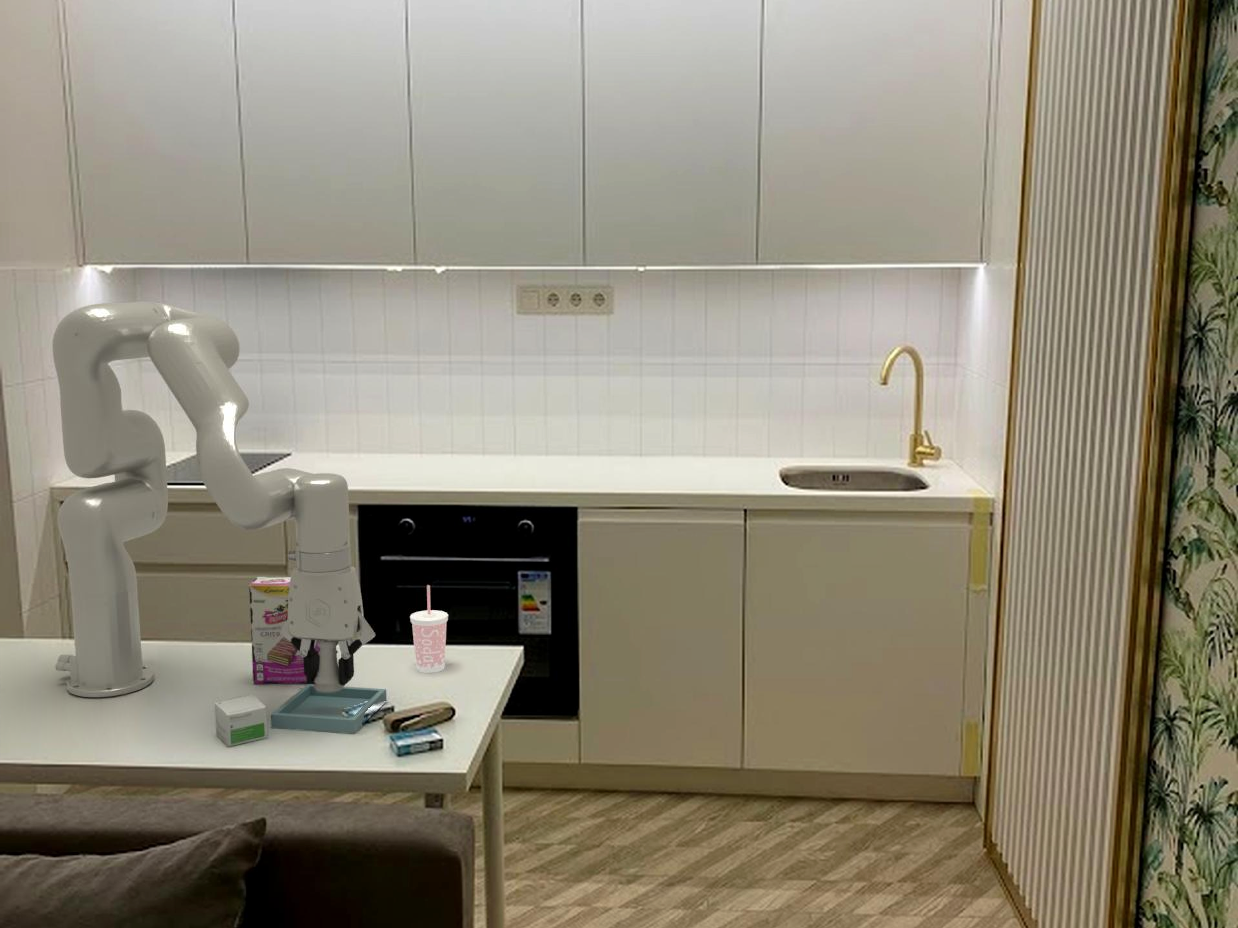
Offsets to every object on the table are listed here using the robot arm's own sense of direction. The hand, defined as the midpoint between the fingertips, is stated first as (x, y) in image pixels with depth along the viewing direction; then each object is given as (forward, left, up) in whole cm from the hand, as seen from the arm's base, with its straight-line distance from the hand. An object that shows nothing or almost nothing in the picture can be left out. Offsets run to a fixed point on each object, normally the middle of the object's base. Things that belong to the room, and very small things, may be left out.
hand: (329, 679), depth 175 cm
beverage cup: (+8, +22, -6) cm, 24 cm away
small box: (-9, -10, -6) cm, 15 cm away
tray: (0, 0, -5) cm, 5 cm away
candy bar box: (-12, +13, -6) cm, 19 cm away
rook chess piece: (0, 0, -2) cm, 2 cm away
